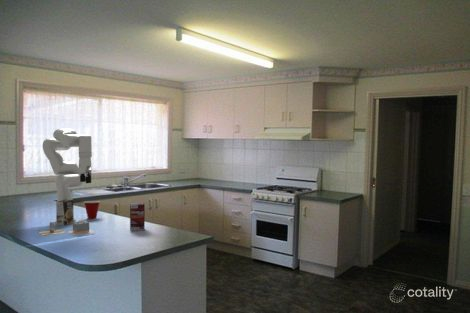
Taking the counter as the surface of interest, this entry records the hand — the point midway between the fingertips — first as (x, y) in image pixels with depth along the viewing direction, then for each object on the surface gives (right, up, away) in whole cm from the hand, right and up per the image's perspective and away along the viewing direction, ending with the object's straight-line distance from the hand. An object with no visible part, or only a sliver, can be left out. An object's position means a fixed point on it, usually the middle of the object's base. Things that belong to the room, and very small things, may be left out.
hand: (85, 182), depth 230 cm
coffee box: (-16, -28, +7) cm, 33 cm away
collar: (+3, -27, -15) cm, 31 cm away
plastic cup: (-8, -28, +31) cm, 42 cm away
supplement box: (+34, -29, -5) cm, 45 cm away
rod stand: (-13, -29, -16) cm, 35 cm away
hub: (+3, -29, -15) cm, 33 cm away
